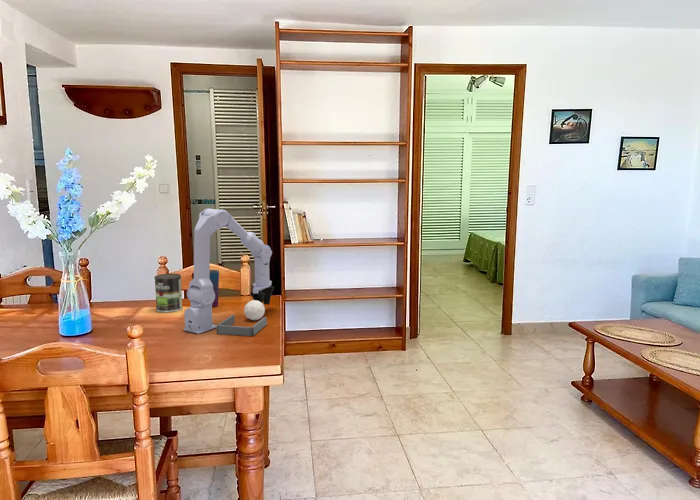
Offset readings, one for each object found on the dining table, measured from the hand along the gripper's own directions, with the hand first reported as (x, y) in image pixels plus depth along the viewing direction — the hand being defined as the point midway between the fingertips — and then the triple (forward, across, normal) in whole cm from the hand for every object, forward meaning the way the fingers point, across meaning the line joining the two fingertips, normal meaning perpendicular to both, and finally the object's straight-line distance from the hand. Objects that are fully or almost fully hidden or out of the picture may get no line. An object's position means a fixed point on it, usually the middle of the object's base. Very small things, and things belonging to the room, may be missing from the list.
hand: (263, 306), depth 203 cm
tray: (+3, +21, +1) cm, 21 cm away
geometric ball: (+3, +9, 0) cm, 10 cm away
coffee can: (+3, +4, -40) cm, 40 cm away
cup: (+3, -5, -25) cm, 26 cm away
